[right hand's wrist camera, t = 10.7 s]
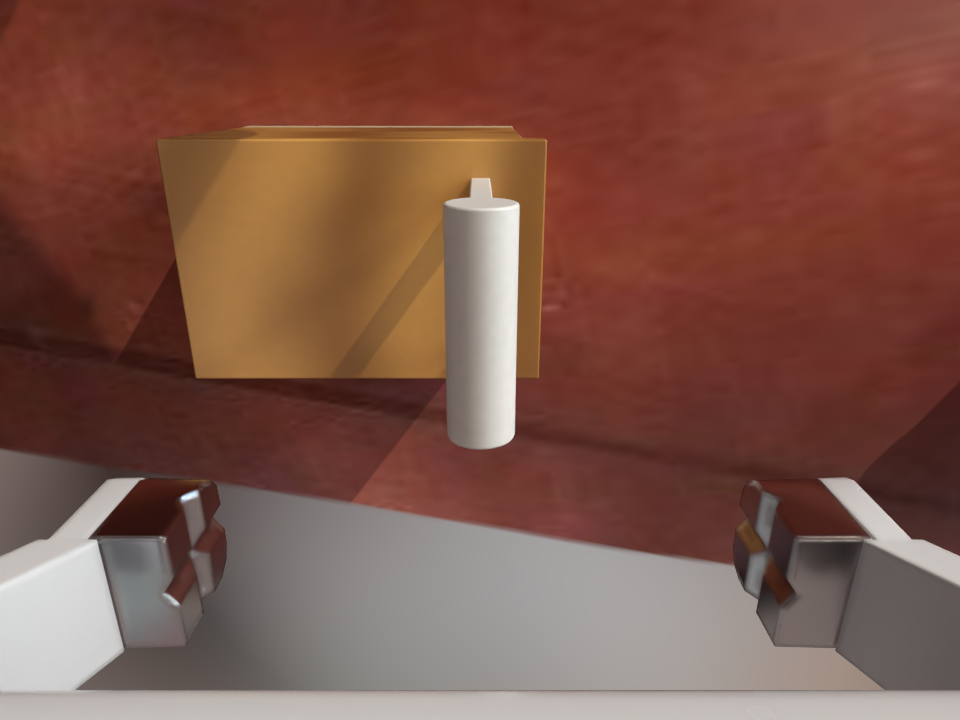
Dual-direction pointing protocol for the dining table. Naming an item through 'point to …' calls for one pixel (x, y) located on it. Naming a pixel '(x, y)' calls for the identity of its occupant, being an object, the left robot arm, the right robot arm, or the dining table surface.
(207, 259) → the lid
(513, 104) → the dining table surface
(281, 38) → the dining table surface
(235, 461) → the dining table surface
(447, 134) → the chest
